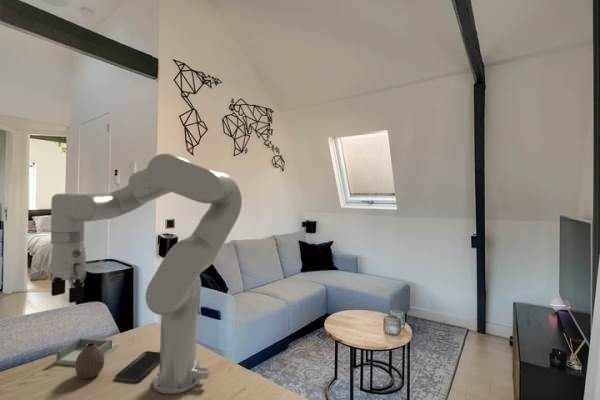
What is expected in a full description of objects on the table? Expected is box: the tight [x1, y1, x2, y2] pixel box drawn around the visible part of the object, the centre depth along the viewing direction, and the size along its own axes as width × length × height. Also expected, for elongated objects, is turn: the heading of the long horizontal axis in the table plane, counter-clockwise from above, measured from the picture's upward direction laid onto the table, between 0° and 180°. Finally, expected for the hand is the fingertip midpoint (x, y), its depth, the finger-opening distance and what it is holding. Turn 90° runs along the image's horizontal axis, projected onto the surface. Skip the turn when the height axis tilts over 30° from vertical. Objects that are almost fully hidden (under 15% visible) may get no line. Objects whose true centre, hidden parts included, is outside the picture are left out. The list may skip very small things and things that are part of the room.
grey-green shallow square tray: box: [56, 337, 119, 366], centre depth 99 cm, size 11×12×4 cm
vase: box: [74, 343, 105, 380], centre depth 89 cm, size 7×7×9 cm
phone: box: [114, 350, 160, 384], centre depth 94 cm, size 8×1×15 cm
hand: (66, 297), depth 89 cm, fingers open, 9 cm apart
